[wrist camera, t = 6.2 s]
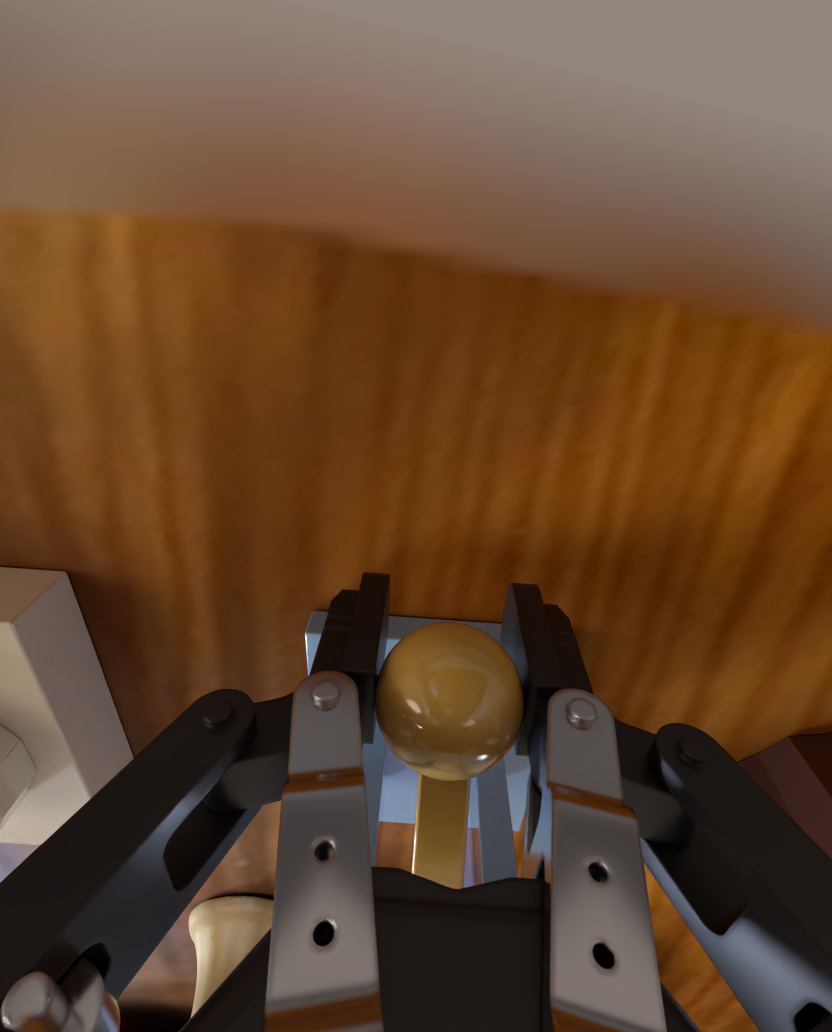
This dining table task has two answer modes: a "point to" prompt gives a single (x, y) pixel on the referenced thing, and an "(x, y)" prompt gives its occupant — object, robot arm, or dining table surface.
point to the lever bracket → (394, 784)
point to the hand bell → (225, 938)
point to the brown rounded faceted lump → (799, 782)
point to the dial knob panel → (50, 708)
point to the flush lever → (447, 730)
